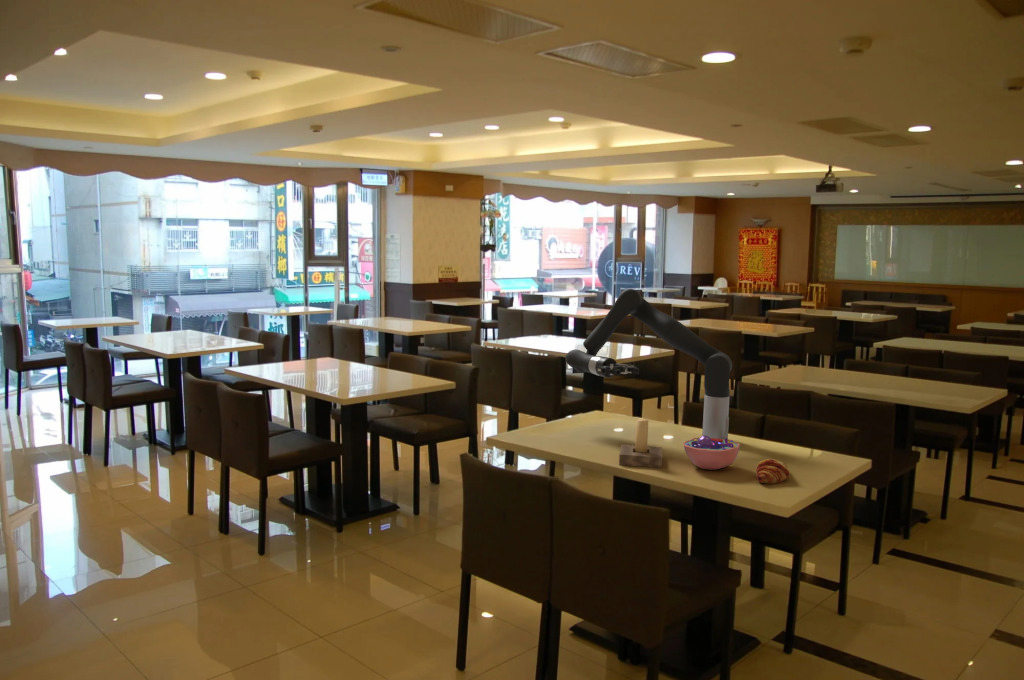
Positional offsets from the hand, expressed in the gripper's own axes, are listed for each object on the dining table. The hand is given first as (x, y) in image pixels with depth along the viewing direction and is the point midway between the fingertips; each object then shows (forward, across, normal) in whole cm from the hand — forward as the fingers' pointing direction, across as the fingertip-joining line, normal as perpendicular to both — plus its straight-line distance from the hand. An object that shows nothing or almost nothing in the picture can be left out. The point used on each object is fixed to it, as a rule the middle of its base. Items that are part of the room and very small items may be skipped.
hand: (629, 372), depth 277 cm
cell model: (+35, +7, +28) cm, 45 cm away
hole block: (+18, -9, +27) cm, 34 cm away
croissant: (+53, +17, +29) cm, 62 cm away
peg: (+18, -9, +27) cm, 34 cm away
